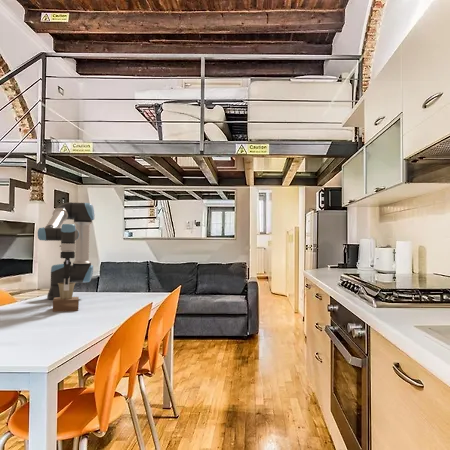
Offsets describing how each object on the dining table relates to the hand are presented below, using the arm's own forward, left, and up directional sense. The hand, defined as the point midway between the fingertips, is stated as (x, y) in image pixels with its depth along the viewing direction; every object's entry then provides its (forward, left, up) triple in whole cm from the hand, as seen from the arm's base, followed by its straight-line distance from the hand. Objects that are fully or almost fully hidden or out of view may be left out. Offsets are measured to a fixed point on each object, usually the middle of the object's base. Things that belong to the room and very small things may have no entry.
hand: (66, 289), depth 224 cm
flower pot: (0, 0, -6) cm, 6 cm away
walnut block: (0, 0, -11) cm, 11 cm away
